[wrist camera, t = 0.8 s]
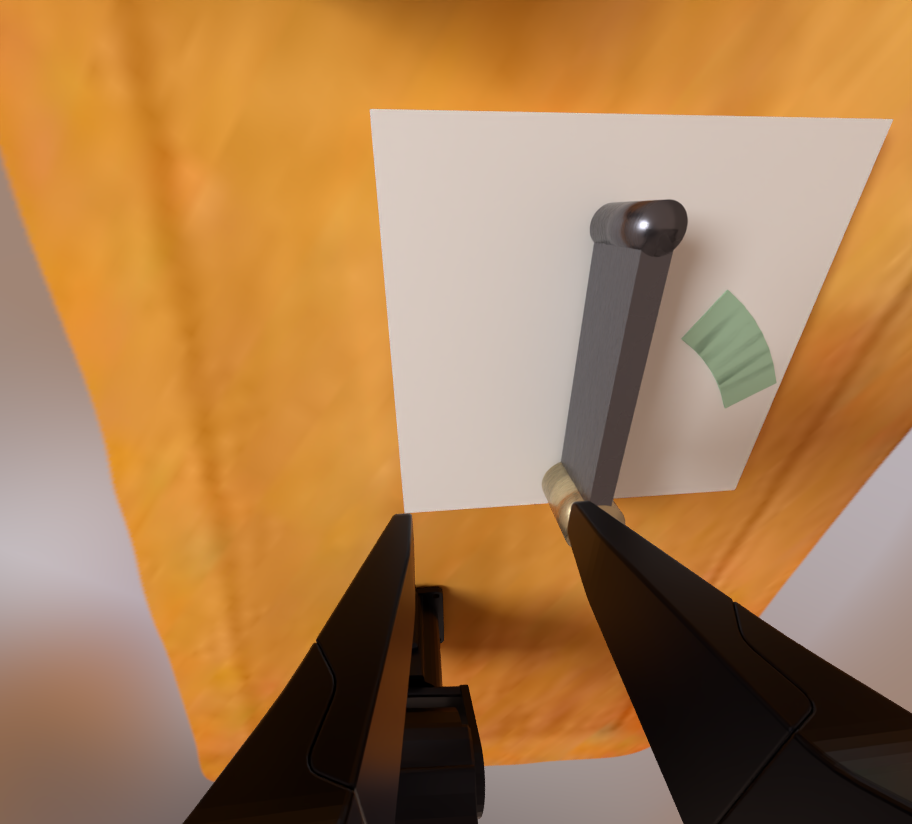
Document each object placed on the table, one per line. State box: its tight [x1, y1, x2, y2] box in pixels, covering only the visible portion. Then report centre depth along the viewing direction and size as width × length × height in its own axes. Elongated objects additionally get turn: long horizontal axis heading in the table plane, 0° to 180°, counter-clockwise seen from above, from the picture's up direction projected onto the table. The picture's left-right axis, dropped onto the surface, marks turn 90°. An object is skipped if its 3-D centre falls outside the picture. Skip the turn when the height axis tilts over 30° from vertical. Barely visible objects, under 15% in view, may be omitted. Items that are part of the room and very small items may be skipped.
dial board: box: [370, 109, 893, 513], centre depth 21 cm, size 20×22×2 cm
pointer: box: [542, 199, 688, 547], centre depth 18 cm, size 16×3×4 cm, turn 0°
